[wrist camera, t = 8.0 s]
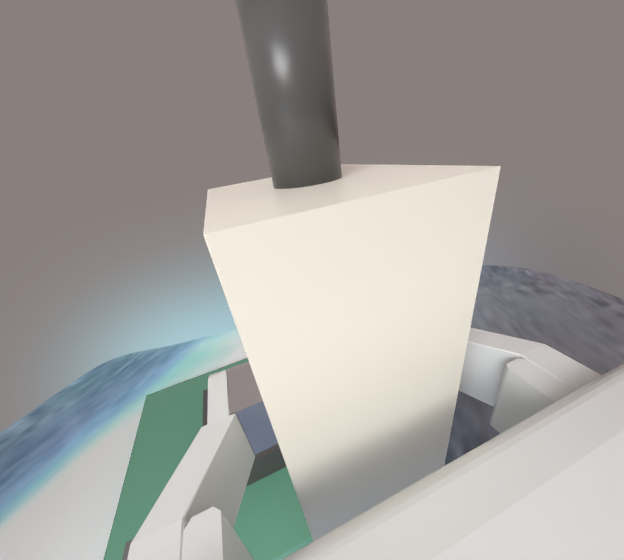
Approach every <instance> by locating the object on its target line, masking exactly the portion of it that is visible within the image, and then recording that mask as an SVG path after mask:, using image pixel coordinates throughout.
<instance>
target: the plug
mask: <svg viewBox="0 0 624 560" xmlns="http://www.w3.org/2000/svg"><path fill="white" fill-rule="evenodd" d="M235 1H236V6H237V11H238V15H239V21H240V26H241V31H242V35H243V40H244V45H245V50H246V55H247V60H248V65H249V69H250V74H251V79H252V84H253V88H254V94H255V99H256V103H257V108H258V113H259V118H260V123H261V128H262V133H263V138H264V143H265V147H266V152H267V157H268V162H269V167H270V172H271V178H266V179H261V180H256V181H250V182H245V183H240V184H234V185H229V186H224V187H219V188H214V189H208V193H207V203H206V213H205V223H204V233H203V235H204V238H205V241H206V244H207V246H208V249H209V252H210V255H211V257H212V260H213V263H214V266H215V269H216V271H217V274H218V277H219V280H220V283H221V285H222V288H223V291H224V294H225V296H226V299H227V302H228V305H229V308H230V310H231V313H232V316H233V319H234V321H235V324H236V327H237V330H238V333H239V335H240V338H241V341H242V344H243V347H244V349H245V352H246V355H247V358H248V360H249V363H250V366H251V369H252V372H253V374H254V377H255V380H256V383H257V386H258V388H259V391H260V394H261V397H262V399H263V402H264V405H265V408H266V411H267V413H268V416H269V419H270V422H271V425H272V427H273V430H274V433H275V436H276V438H277V441H278V444H279V447H280V450H281V452H282V455H283V458H284V461H285V463H286V466H287V469H288V472H289V475H290V477H291V480H292V483H293V486H294V489H295V491H296V494H297V497H298V500H299V502H300V505H301V508H302V511H303V514H304V516H305V519H306V522H307V525H308V527H309V530H310V533H311V536H312V539H313V541H315V540H316V539H318V538H320V537H322V536H323V535H325V534H327V533H328V532H330V531H332V530H334V529H335V528H337V527H339V526H341V525H342V524H344V523H346V522H348V521H349V520H351V519H353V518H355V517H356V516H358V515H360V514H362V513H363V512H365V511H367V510H368V509H370V508H372V507H374V506H375V505H377V504H379V503H381V502H382V501H384V500H386V499H388V498H389V497H391V496H393V495H395V494H396V493H398V492H400V491H402V490H403V489H405V488H407V487H409V486H410V485H412V484H414V483H416V482H417V481H419V480H421V479H422V478H424V477H426V476H428V475H429V474H431V473H433V472H435V471H436V470H438V469H440V468H442V467H443V466H444V465H445V460H446V454H447V449H448V444H449V438H450V433H451V428H452V422H453V417H454V412H455V406H456V401H457V396H458V391H459V385H460V380H461V375H462V369H463V364H464V359H465V353H466V348H467V343H468V337H469V332H470V327H471V321H472V316H473V311H474V305H475V300H476V295H477V290H478V284H479V279H480V274H481V268H482V263H483V258H484V252H485V247H486V241H487V236H488V231H489V225H490V220H491V215H492V210H493V204H494V199H495V194H496V188H497V183H498V178H499V172H500V166H440V165H437V166H436V165H361V164H341V160H340V150H339V149H340V148H339V136H338V124H337V113H336V100H335V90H334V77H333V64H332V53H331V41H330V28H329V17H328V4H327V0H235Z"/></svg>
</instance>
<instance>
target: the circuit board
mask: <svg viewBox="0 0 624 560" xmlns="http://www.w3.org/2000/svg"><path fill="white" fill-rule="evenodd" d="M246 362H249V360H248V358H246V359H244V360H241V361H238V362H236V363H233V364H230V365H228V366H225V367H222V368H220V369H217V370H214V371H211V372H209V373H206V374H203V375H201V376H198V377H195V378H193V379H190V380H187V381H185V382H182V383H179V384H176V385H174V386H171V387H168V388H166V389H163V390H160V391H158V392H155V393H152V394H149V395H147V396H146V400H145V404H144V408H143V412H142V415H141V419H140V423H139V427H138V431H137V434H136V438H135V442H134V446H133V450H132V453H131V457H130V461H129V465H128V469H127V472H126V476H125V480H124V484H123V488H122V492H121V495H120V499H119V503H118V507H117V511H116V514H115V518H114V522H113V526H112V530H111V533H110V537H109V541H108V545H107V549H106V552H105V556H104V560H127V558H128V553H129V548H130V544H131V542H132V541H133V539H134V538H135V536H136V534H137V533H138V531H139V529H140V528H141V526H142V524H143V523H144V521H145V519H146V518H147V516H148V514H149V513H150V511H151V510H152V508H153V506H154V505H155V503H156V501H157V500H158V498H159V496H160V495H161V493H162V491H163V490H164V488H165V486H166V485H167V483H168V482H169V480H170V478H171V477H172V475H173V473H174V472H175V470H176V468H177V467H178V465H179V463H180V462H181V460H182V458H183V457H184V455H185V453H186V452H187V450H188V449H189V447H190V445H191V444H192V442H193V440H194V439H195V437H196V435H197V434H198V432H199V430H200V429H201V427H203V426H205V425H207V413H208V378H209V376H210V375H211V374H214V373H217V372H220V371H223V370H227V369H228V368H231V367H234V366H237V365H240V364H243V363H246ZM233 529H234V531H235V532H236V534H237V535H238V536H239V538H240V539H241V541H242V542H243V544H244V545H245V547H246V548H247V550H248V551H249V553H250V554H251V556H252V557H253V560H282V559H283V558H285V557H287V556H288V555H290V554H292V553H294V552H295V551H297V550H299V549H301V548H302V547H304V546H306V545H308V544H309V543H311V542H313V539H312V536H311V533H310V530H309V527H308V525H307V522H306V519H305V516H304V514H303V511H302V508H301V505H300V502H299V500H298V497H297V494H296V491H295V489H294V486H293V483H292V480H291V477H290V475H289V472H288V469H287V466H286V463H285V461H284V458H283V455H282V452H281V450H280V447H279V444H276V445H274V446H272V447H270V448H268V449H266V450H264V451H262V452H259V453H257V454H255V459H254V462H253V466H252V469H251V472H250V476H249V479H248V482H247V485H246V489H245V492H244V495H243V498H242V502H241V505H240V508H239V512H238V515H237V518H236V521H235V525H234V528H233Z"/></svg>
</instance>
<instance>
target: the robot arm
mask: <svg viewBox="0 0 624 560" xmlns="http://www.w3.org/2000/svg"><path fill="white" fill-rule="evenodd" d="M459 391H461V392H463V393H465V394H467V395H469V396H471V397H474V398H476V399H478V400H480V401H482V402H484V403H486V404H489V405H491V406H493V407H494V408H493V411H492V415H491V418H490V425H491V426H492V427H493V428H494V429H495V430H496V431H497V432H498V433H500V434H499V435H497V436H496V437H494V438H492V439H490V440H489V441H487V442H485V443H483V444H482V445H480V446H478V447H476V448H475V449H473V450H471V451H470V452H468V453H466V454H464V455H463V456H461V457H459V458H457V459H456V460H454V461H452V462H450V463H449V464H447V465H445V466H443V467H442V468H440V469H438V470H436V471H435V472H433V473H431V474H429V475H428V476H426V477H424V478H422V479H421V480H419V481H417V482H416V483H414V484H412V485H410V486H409V487H407V488H405V489H403V490H402V491H400V492H398V493H396V494H395V495H393V496H391V497H389V498H388V499H386V500H384V501H382V502H381V503H379V504H377V505H375V506H374V507H372V508H370V509H368V510H367V511H365V512H363V513H362V514H360V515H358V516H356V517H355V518H353V519H351V520H349V521H348V522H346V523H344V524H342V525H341V526H339V527H337V528H335V529H334V530H332V531H330V532H328V533H327V534H325V535H323V536H322V537H320V538H318V539H316V540H315V541H313V542H311V543H309V544H308V545H306V546H304V547H302V548H301V549H299V550H297V551H295V552H294V553H292V554H290V555H288V556H287V557H285V558H283V559H282V560H624V363H623V364H621V365H619V366H618V367H616V368H614V369H612V370H611V371H609V372H607V373H605V374H604V375H601V374H599V373H597V372H595V371H593V370H592V369H590V368H588V367H586V366H584V365H582V364H581V363H579V362H577V361H575V360H573V359H571V358H570V357H568V356H566V355H564V354H562V353H560V352H559V351H557V350H555V349H553V348H551V347H549V346H547V345H546V344H543V343H538V342H534V341H529V340H525V339H520V338H516V337H511V336H507V335H502V334H498V333H494V332H489V331H485V330H480V329H476V328H471V327H470V332H469V337H468V343H467V348H466V353H465V359H464V364H463V369H462V375H461V380H460V385H459ZM276 444H278V441H277V438H276V436H275V433H274V430H273V427H272V425H271V422H270V419H269V416H268V413H267V411H266V408H265V405H264V402H263V399H262V397H261V394H260V391H259V388H258V386H257V383H256V380H255V377H254V374H253V372H252V369H251V366H250V363H249V362H246V363H243V364H240V365H237V366H234V367H231V368H228V369H227V370H223V371H220V372H217V373H214V374H211V375H210V376H209V378H208V413H207V425H205V426H203V427H201V429H200V430H199V432H198V434H197V435H196V437H195V439H194V440H193V442H192V444H191V445H190V447H189V449H188V450H187V452H186V453H185V455H184V457H183V458H182V460H181V462H180V463H179V465H178V467H177V468H176V470H175V472H174V473H173V475H172V477H171V478H170V480H169V482H168V483H167V485H166V486H165V488H164V490H163V491H162V493H161V495H160V496H159V498H158V500H157V501H156V503H155V505H154V506H153V508H152V510H151V511H150V513H149V514H148V516H147V518H146V519H145V521H144V523H143V524H142V526H141V528H140V529H139V531H138V533H137V534H136V536H135V538H134V539H133V541H132V542H131V544H130V548H129V553H128V558H127V560H253V557H252V556H251V554H250V553H249V551H248V550H247V548H246V547H245V545H244V544H243V542H242V541H241V539H240V538H239V536H238V535H237V534H236V532H235V531H234V529H233V528H234V525H235V521H236V518H237V515H238V512H239V508H240V505H241V502H242V498H243V495H244V492H245V489H246V485H247V482H248V479H249V476H250V472H251V469H252V466H253V462H254V459H255V454H257V453H259V452H262V451H264V450H266V449H268V448H270V447H272V446H274V445H276Z"/></svg>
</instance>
